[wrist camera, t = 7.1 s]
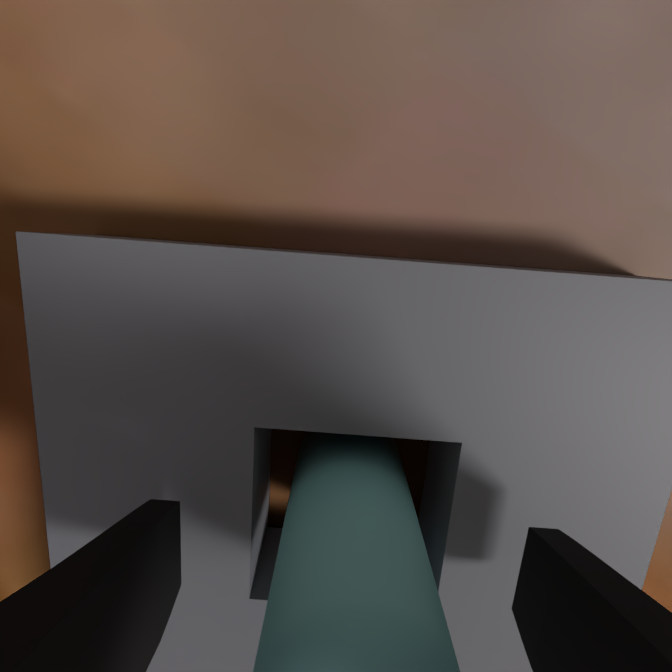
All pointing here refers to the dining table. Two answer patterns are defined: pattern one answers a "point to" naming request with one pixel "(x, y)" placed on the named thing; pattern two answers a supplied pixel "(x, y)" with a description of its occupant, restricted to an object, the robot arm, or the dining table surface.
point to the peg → (352, 568)
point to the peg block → (344, 413)
